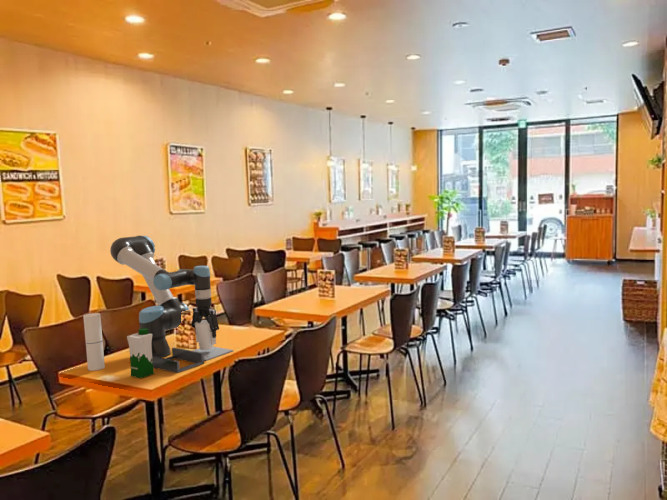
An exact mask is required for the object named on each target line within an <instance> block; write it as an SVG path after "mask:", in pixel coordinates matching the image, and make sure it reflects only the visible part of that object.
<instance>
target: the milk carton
mask: <svg viewBox="0 0 667 500" xmlns="http://www.w3.org/2000/svg"><path fill="white" fill-rule="evenodd" d="M137 331H138V332H136V333H132V334H130V335H127V336H126V339H127V343H128V351H129V360H130V377H132V378H137V379H143V378H146V377H149V376H153V375H155V370H154V369H155V368H153V359H152V345H151V342H152V334H151V333H148V328H142V329H140V328H139V329H138V330H137Z"/></svg>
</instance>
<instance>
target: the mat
mask: <svg viewBox="0 0 667 500" xmlns="http://www.w3.org/2000/svg"><path fill="white" fill-rule="evenodd" d="M192 351H195V352H201V353H203V355H204V362H207V361H211V360H213V359H216V358H219V357H222V356H224V355H226V354H229V353H232V352H234V350H233V349H230V348H229V349H228V348H223V347H218V346H213V348H212V349H209V350H201V349H200V347H199V348H196V349H194V350H192Z"/></svg>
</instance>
